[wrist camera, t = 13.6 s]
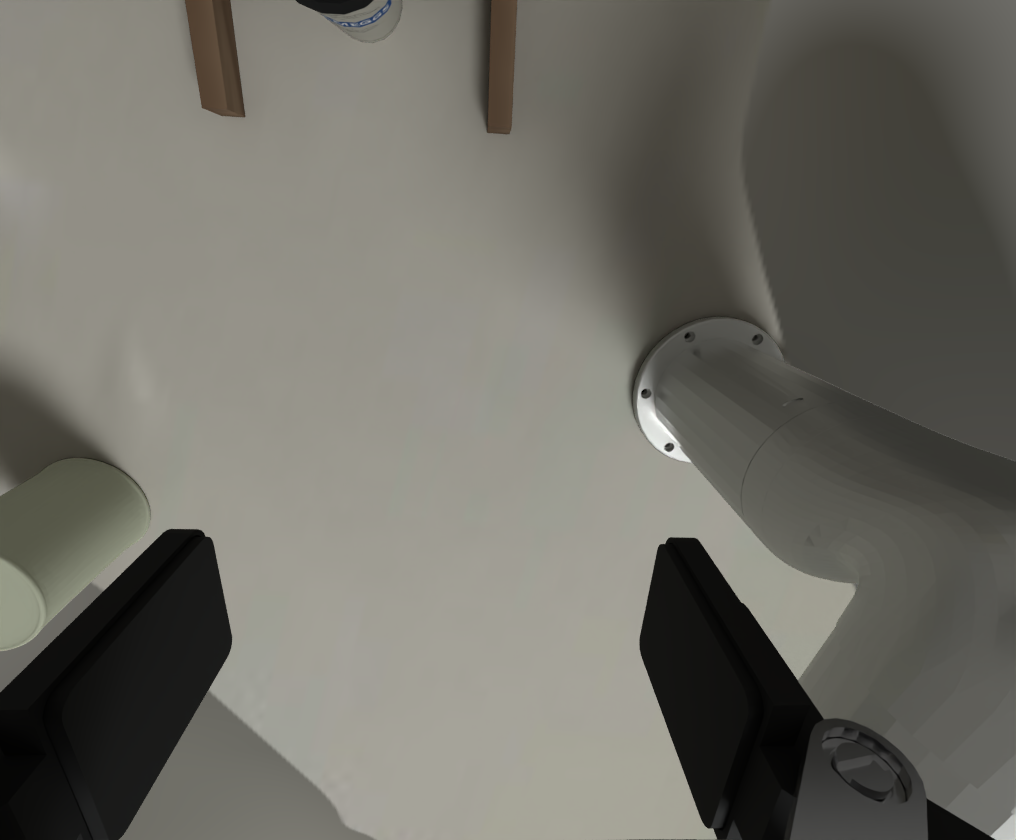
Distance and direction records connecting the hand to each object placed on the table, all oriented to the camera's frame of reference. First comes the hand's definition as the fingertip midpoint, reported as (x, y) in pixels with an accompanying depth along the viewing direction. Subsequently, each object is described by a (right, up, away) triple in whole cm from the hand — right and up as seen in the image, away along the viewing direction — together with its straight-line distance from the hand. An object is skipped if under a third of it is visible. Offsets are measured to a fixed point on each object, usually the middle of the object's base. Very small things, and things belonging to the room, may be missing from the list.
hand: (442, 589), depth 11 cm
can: (-34, -4, +32) cm, 47 cm away
